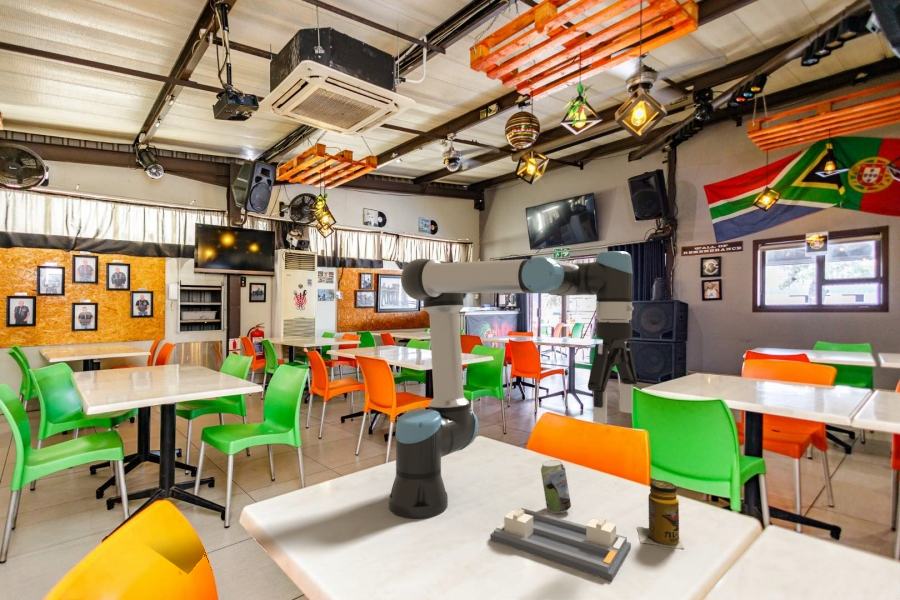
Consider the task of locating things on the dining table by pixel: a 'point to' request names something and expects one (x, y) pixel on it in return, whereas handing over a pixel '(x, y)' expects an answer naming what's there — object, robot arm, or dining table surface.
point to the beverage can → (555, 486)
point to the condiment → (662, 516)
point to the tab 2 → (601, 532)
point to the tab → (518, 523)
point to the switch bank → (566, 545)
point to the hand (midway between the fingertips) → (613, 417)
